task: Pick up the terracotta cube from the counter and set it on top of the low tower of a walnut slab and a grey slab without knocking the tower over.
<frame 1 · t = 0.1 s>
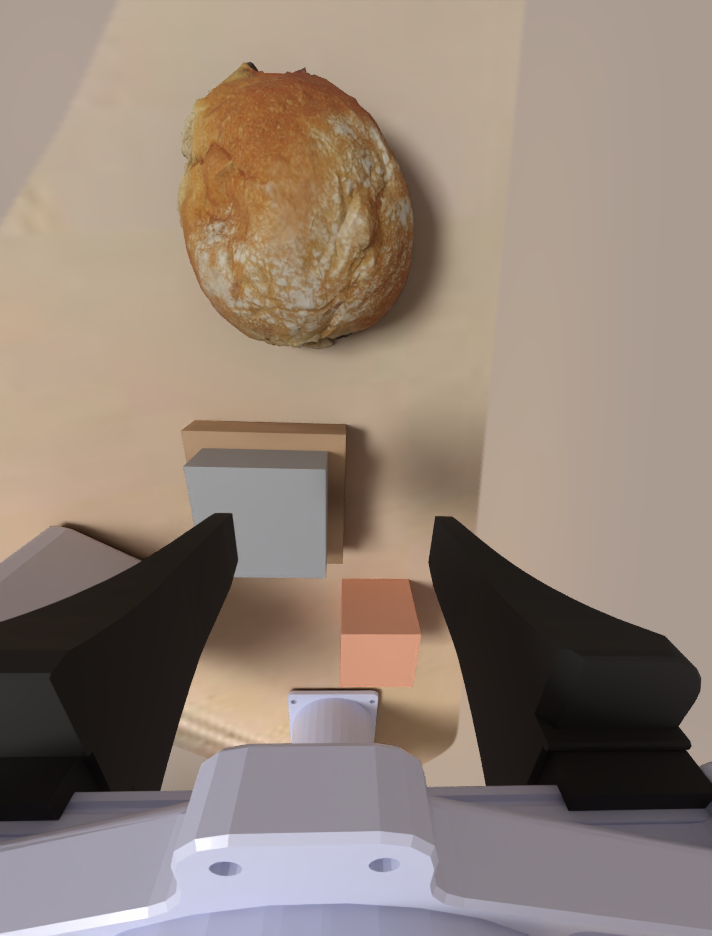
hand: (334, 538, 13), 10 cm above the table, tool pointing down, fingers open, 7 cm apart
terracotta cube: (373, 603, 27), on the table
soap bottle: (101, 583, 26), on the table
bread roll: (300, 237, 17), on the table
grey slab: (269, 503, 21), point 2 cm above the table, touching walnut slab
walnut slab: (276, 484, 23), on the table, touching grey slab
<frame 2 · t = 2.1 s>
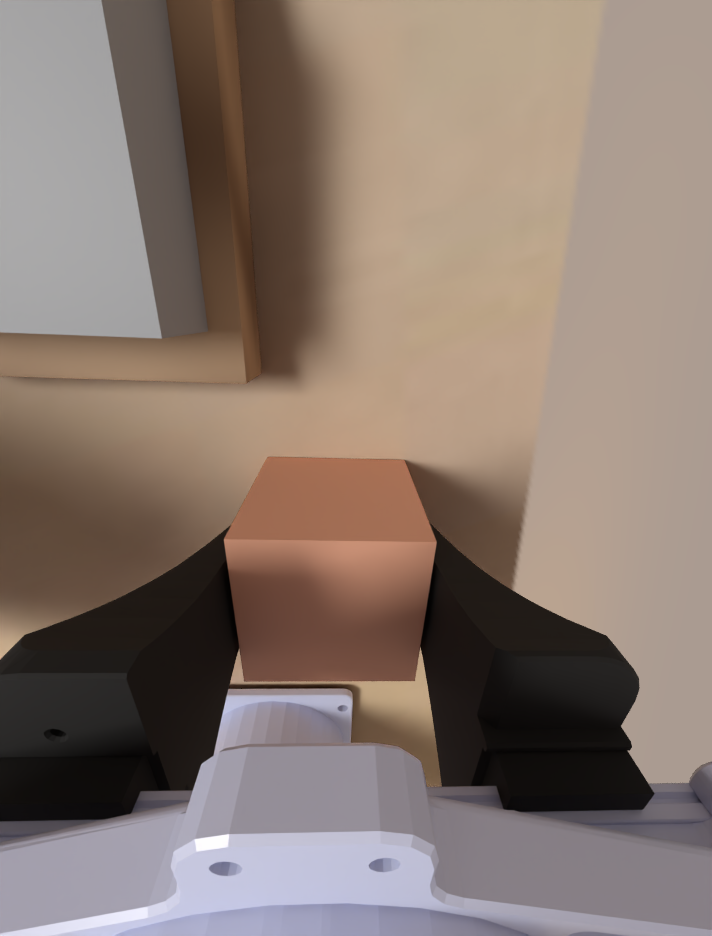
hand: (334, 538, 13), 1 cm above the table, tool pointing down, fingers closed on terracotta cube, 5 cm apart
terracotta cube: (335, 516, 14), on the table, touching gripper
grey slab: (22, 152, 8), point 2 cm above the table, touching walnut slab
walnut slab: (95, 203, 10), on the table, touching grey slab
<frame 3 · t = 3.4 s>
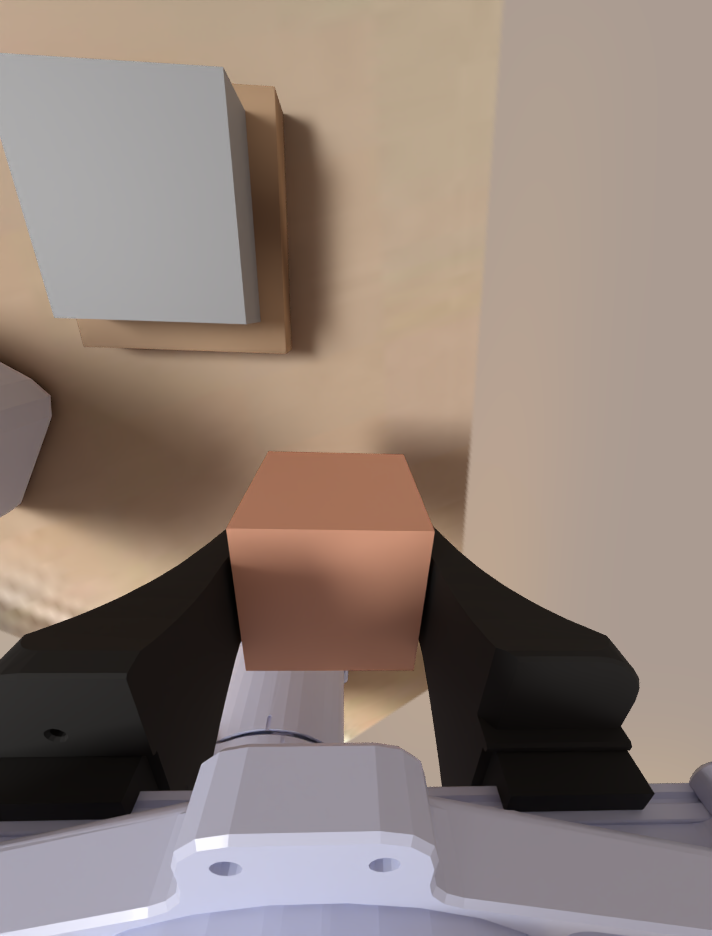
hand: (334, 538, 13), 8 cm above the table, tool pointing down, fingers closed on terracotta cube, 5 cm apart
terracotta cube: (335, 511, 14), point 7 cm above the table, touching gripper
grey slab: (164, 223, 14), point 2 cm above the table, touching walnut slab
walnut slab: (192, 242, 16), on the table, touching grey slab
when the fingers open (7 cm above the table, at t = 5.6 s): terracotta cube drops 2 cm, resting on grey slab.
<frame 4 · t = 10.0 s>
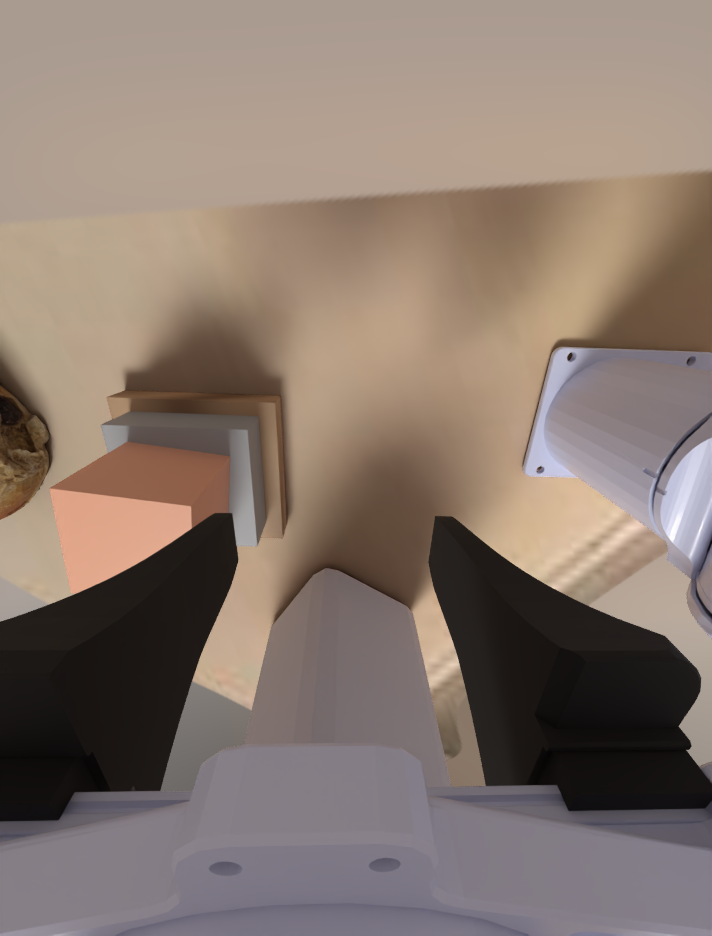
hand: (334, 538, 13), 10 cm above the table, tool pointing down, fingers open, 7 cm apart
terracotta cube: (180, 492, 19), point 4 cm above the table, touching grey slab
soap bottle: (340, 616, 28), on the table
grey slab: (203, 471, 21), point 2 cm above the table, touching terracotta cube, walnut slab
walnut slab: (217, 458, 23), on the table, touching grey slab
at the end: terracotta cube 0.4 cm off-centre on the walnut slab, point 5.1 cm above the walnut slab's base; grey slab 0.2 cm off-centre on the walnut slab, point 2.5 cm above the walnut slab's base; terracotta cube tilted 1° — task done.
